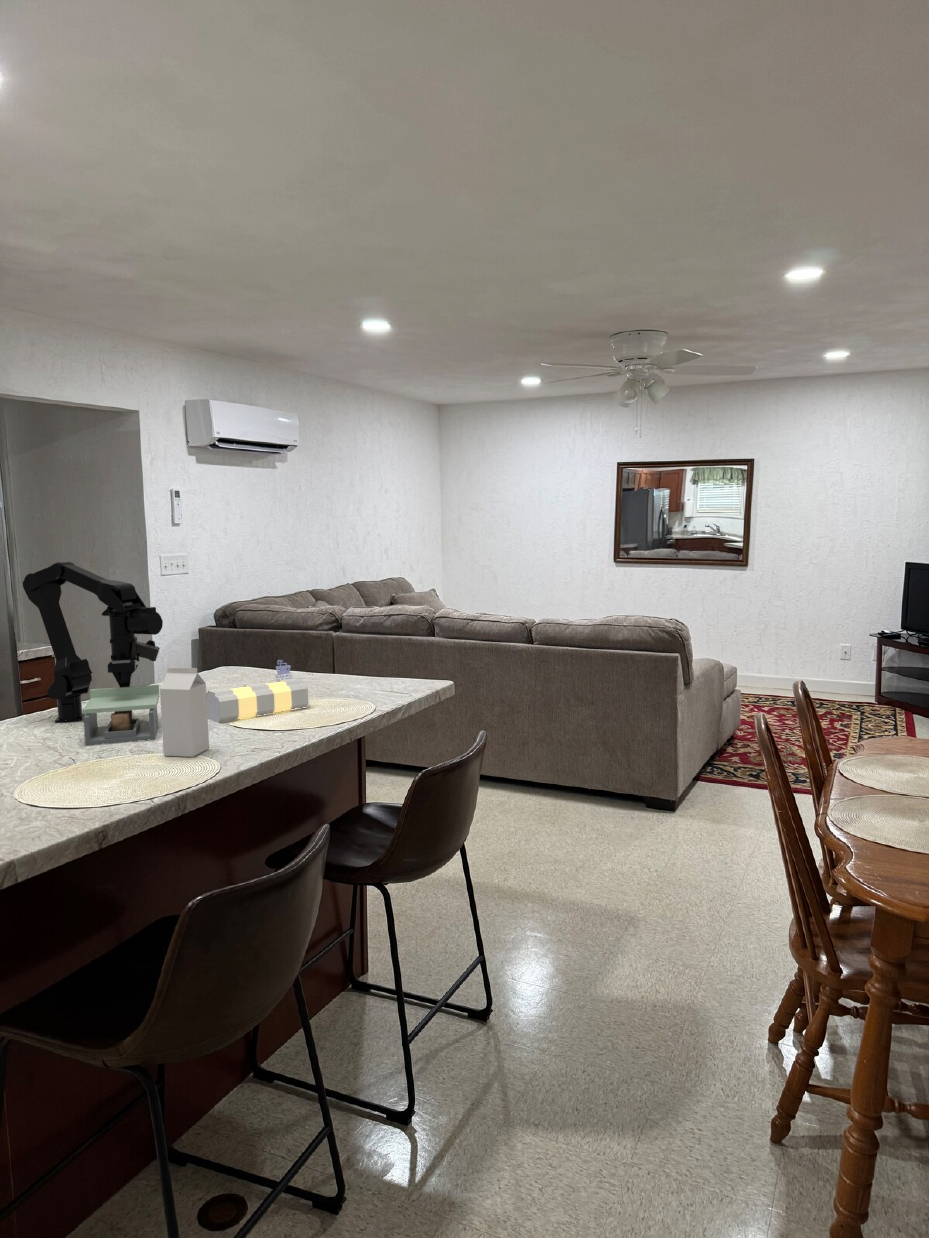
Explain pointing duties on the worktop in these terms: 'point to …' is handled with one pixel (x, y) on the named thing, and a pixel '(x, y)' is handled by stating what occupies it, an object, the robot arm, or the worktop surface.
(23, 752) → the worktop surface
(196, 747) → the milk carton
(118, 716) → the brown sleeve
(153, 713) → the housing
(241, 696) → the yellow banded gray prism
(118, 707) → the lid
